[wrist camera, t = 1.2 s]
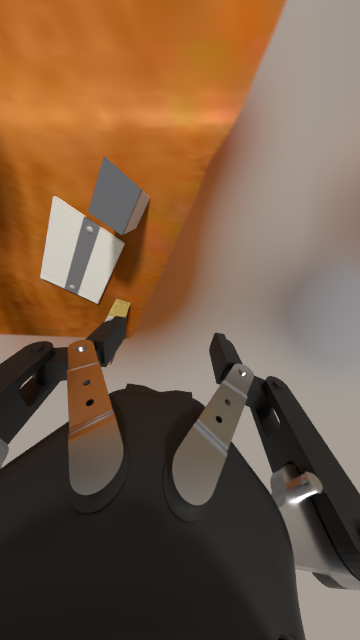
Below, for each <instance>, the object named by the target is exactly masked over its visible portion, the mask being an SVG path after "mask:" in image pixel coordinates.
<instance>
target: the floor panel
mask: <svg viewBox="0 0 360 640" xmlns="http://www.w3.org/2000/svg"><path fill="white" fill-rule="evenodd" d="M124 245H125V243H124V242H123V241H121V240H120V239H118V238H117V237H115V236H114V235H112V234H111V233H110V232H108V231H107V230H105V229H104V228H102V227H101V226H99V225H98V224H96V223H95V222H93V221H92V220H90V219H89V218H88V217H86V216H85V215H83V214H82V213H80V212H79V211H77V210H76V209H74V208H73V207H71V206H70V205H68V204H67V203H65V202H64V201H63V200H61V199H60V198H58V197H56V196H53V201H52V207H51V214H50V220H49V226H48V232H47V239H46V245H45V251H44V257H43V264H42V270H41V276H40V278H42V279H45V280H47V281H49V282H51V283H53V284H55V285H58V286H60V287H62V288H64V289H66V290H68V291H71V292H73V293H75V294H77V295H80V296H82V297H84V298H86V299H88V300H90V301H93V302H95V303H97V304H98V303H99V301H100V299H101V296H102V294H103V292H104V290H105V287H106V285H107V283H108V281H109V278H110V276H111V274H112V272H113V269H114V267H115V265H116V263H117V260H118V258H119V256H120V254H121V251H122V249H123V247H124Z"/></svg>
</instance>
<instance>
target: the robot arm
mask: <svg viewBox="0 0 360 640" xmlns="http://www.w3.org/2000/svg"><path fill="white" fill-rule="evenodd" d="M125 335H126V318H125V317H121V316H115V317H114V318H113V319H112V320H108V321H106V322H103V323H102V324H101V325H100V326H99V327H98V328H97V329H96V330H95V331H94V332H93V333H92V334H91V335H90V336H88V337H87V338H86V339H85V340H79V341H76V342H73V343H72V344H70V345H69V347H62V348H54V347H53V344H52V343H51V342H47V341H43V342H36V343H32V344H30V345H28V346H26V347H24V348H23V349H21V350H20V351H18V352H17V353H15V354H14V355H13V356H11V357H10V358H8V359H7V360H5V361H4V362H3V363H1V364H0V640H306V639H305V634H304V630H303V625H302V620H301V614H300V608H299V603H298V594H297V587H296V574H295V569H299V570H304V571H309V572H312V573H313V575H314V576H315V577H316V578H317V579H318V580H319V581H320V582H321V583H322V584H324V585H325V586H327V587H329V588H339V589H351V590H360V494H359V492H358V491H357V489H356V488H355V486H354V485H353V484H352V482H351V480H350V479H349V477H348V476H347V475H346V473H345V472H344V470H343V469H342V467H341V466H340V464H339V463H338V461H337V460H336V458H335V457H334V455H333V454H332V452H331V451H330V449H329V448H328V446H327V445H326V443H325V442H324V440H323V439H322V437H321V436H320V434H319V433H318V431H317V430H316V428H315V427H314V425H313V424H312V422H311V421H310V419H309V418H308V416H307V415H306V413H305V412H304V410H303V409H302V407H301V406H300V404H299V403H298V401H297V400H296V398H295V397H294V395H293V394H292V392H291V391H290V389H289V388H288V386H287V385H286V384H285V383H284V382H283V381H281V380H280V379H278V378H276V377H272V376H269V377H267V379H266V380H263V379H261V378H259V377H256V376H254V374H253V372H252V371H251V370H250V369H249V368H248V367H247V366H245V365H243V364H242V362H241V360H240V358H239V356H238V354H237V352H236V350H235V348H234V346H233V344H232V343H231V342H230V341H229V340H227V339H226V337H225V335H224V334H221V333H215V334H214V337H213V340H212V342H211V345H210V349H209V352H210V356H211V361H212V366H213V370H214V374H215V379H216V383H217V384H221V385H220V386H219V388H218V389H217V391H216V392H215V394H214V395H213V397H212V398H211V400H210V401H209V403H208V405H207V406H206V407H205V406H204V405H203V404H201V403H200V402H199V401H197V400H195V399H193V398H192V392H184V391H177V390H175V391H166V392H158V391H155V390H153V389H150V388H148V387H146V386H142V385H134V384H127V386H126V388H125V389H121V390H117V391H114V392H112V393H110V394H108V391H107V387H106V384H105V380H104V377H103V373H102V370H101V367H106V366H107V365H108V363H109V362H110V360H111V359H112V357H113V355H114V354H115V352H116V350H117V349H118V347H119V346H120V345H121V343H122V341H123V340H124V338H125ZM31 376H32V378H31V379H30V380H29V381H28V382H27V383H26V384H25V385H24V386H23V387H22V388H21V386H22V384H23V383H24V382H25V381H27V379H29V378H30V377H31ZM63 380H67V388H68V411H69V421H68V422H67V423H65V424H64V425H63V426H61V427H60V428H58V429H57V430H55V431H54V432H52V433H51V434H50V435H48V436H47V437H45V438H44V439H42V440H41V441H40V442H38V443H37V444H35V445H34V446H32V447H31V448H29V449H28V450H27V451H25V452H24V453H22V454H21V455H19V456H18V457H16V458H15V459H14V460H12V461H11V462H9V463H8V464H7V465H5V466H4V467H3V468H1V467H2V463H3V462H4V460H5V458H6V456H7V454H8V451H9V447H8V444H9V443H10V441H11V440H12V439H13V438H14V436H15V435H16V434H17V433H18V432H19V431H20V429H21V428H22V427H23V426H24V424H25V423H26V422H27V421H28V419H29V418H30V417H31V416H32V415H33V413H34V412H35V411H36V410H37V409H38V408H39V406H40V405H41V404H42V403H43V402H44V400H45V399H46V398H47V397H48V395H49V394H50V393H51V392H52V391H53V389H54V388H55V387H56V386H57V385H58V383H59V382H60V381H63ZM20 388H21V389H20ZM245 405H246V406H249V407H250V409H251V412H252V415H253V417H254V421H255V423H256V426H257V429H258V432H259V435H260V438H261V441H262V444H263V446H264V449H265V452H266V455H267V458H268V461H269V464H270V467H271V469H272V472H273V474H272V476H271V480H270V483H271V489H272V493H271V494H270V493H269V491H268V490H267V488H266V487H265V486H264V484H263V483H262V482H261V480H260V479H259V478H258V476H257V475H256V474H255V472H254V471H253V470H252V468H251V467H250V466H249V464H248V463H247V461H246V460H245V459H244V457H243V456H242V455H241V453H240V452H239V451H238V449H237V448H236V447H235V445H234V444H233V443H232V441H231V440H232V437H233V434H234V432H235V429H236V427H237V424H238V421H239V419H240V416H241V413H242V411H243V408H244V406H245ZM274 411H275V412H276V414H277V416H278V418H279V421H280V424H279V422H278V420H277V417H276V415H275V413H274Z"/></svg>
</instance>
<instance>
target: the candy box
mask: <svg viewBox="0 0 360 640" xmlns="http://www.w3.org/2000/svg"><path fill="white" fill-rule="evenodd" d="M130 304H131V303H129V302H126V301H123V300H119V299H116V301H115V302H114V304H113V306H112V308H111V310H110V312H109V313H108V315H107V317H106V319H105V321H104V322H106V321H108V320H112V319H113V318H114V317H115V316H121V317H125V318H127V314H128V311H129V307H130ZM115 353H116V352H115ZM114 356H115V354H114V355H113V357H112V359H111V360H110V362H109V363H108V365H111V364H112V361H113V359H114Z"/></svg>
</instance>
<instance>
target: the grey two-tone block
mask: <svg viewBox="0 0 360 640" xmlns="http://www.w3.org/2000/svg"><path fill="white" fill-rule="evenodd" d="M149 200H150V197H149V196H148V195H147V194H146V193H145V192H144V191H143V190H142V189H140V188H139V187H138V186H137V185H136V184H135V183H134V182H133V181H131V180H130V179H129V178H128V177H127V176H126V175H125V174H124V173H122V172H121V171H120V170H119V169H118V168H117V167H116V166H115V165H113V164H112V163H111V162H110V161H109V160H108V159H107V158H106V157H103V161H102V164H101V168H100V172H99V175H98V179H97V182H96V186H95V189H94V193H93V197H92V200H91V204H90V207H89V211H88V212H89V213H91V214H92V215H94V216H95V217H96V218H98V219H99V220H101V221H102V222H104V223H105V224H106V225H108V226H109V227H111V228H112V229H114V230H115V231H116V232H118V233H119V234H121V235H124V234H126V233H128V232H130V231H132V230H134V229H136V228H137V226H138V224H139V221H140V219H141V217H142V215H143V213H144V211H145V208H146V206H147V204H148V202H149Z"/></svg>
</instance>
